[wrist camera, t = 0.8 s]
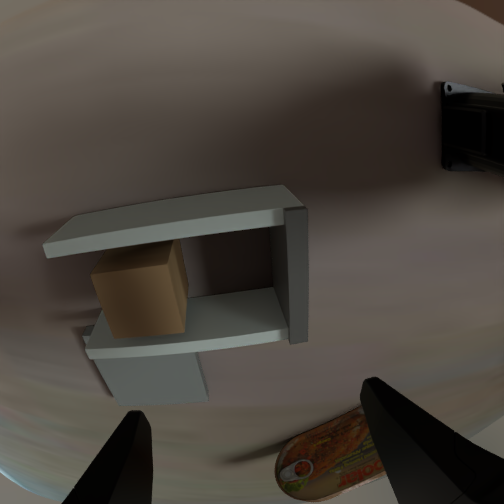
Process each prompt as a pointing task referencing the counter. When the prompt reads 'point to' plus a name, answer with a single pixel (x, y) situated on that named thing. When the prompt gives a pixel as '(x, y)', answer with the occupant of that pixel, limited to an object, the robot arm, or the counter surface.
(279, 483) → the tin
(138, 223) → the grey open rectangular frame
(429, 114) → the counter surface
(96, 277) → the block
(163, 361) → the tile
